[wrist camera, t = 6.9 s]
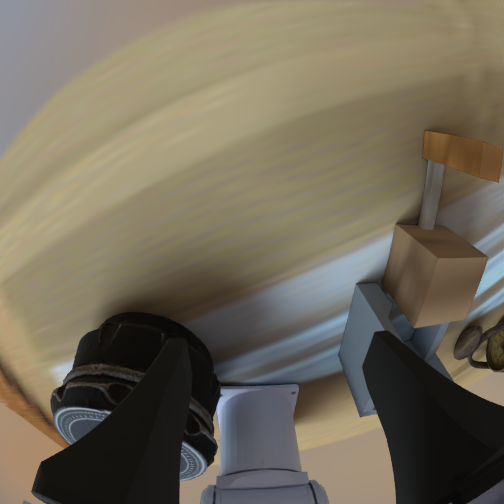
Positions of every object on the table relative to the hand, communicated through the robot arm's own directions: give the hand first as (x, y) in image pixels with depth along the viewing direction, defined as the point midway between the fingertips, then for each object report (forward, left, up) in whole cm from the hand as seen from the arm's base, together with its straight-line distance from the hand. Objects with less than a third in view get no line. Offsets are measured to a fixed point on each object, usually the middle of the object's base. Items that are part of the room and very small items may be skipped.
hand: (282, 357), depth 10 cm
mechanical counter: (-11, -29, -10) cm, 32 cm away
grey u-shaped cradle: (-7, -12, -10) cm, 17 cm away
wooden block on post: (+3, -12, -10) cm, 16 cm away
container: (-11, +10, -10) cm, 18 cm away
